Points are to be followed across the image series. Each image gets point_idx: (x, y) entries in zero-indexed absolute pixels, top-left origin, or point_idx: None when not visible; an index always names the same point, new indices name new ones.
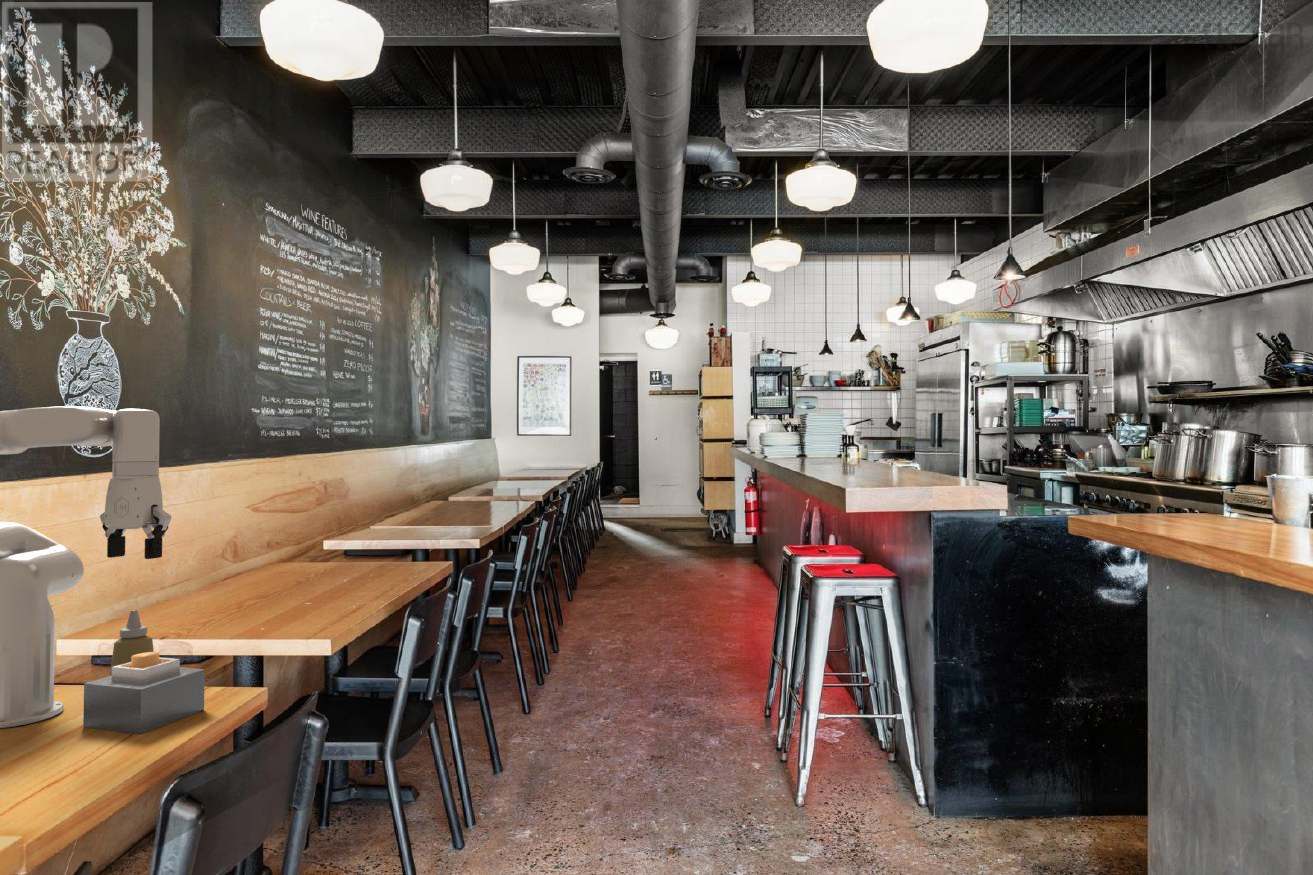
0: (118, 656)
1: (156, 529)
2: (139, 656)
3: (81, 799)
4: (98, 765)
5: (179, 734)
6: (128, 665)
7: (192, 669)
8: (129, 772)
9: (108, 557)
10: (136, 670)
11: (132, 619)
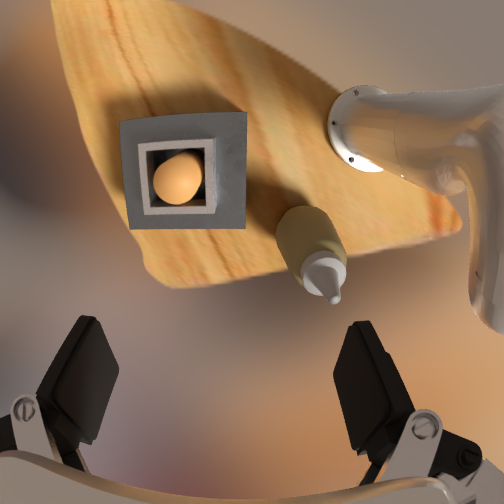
0: (314, 226)
1: (2, 435)
2: (174, 169)
3: (61, 19)
4: (105, 50)
5: (101, 138)
6: (205, 164)
7: (145, 223)
8: (66, 59)
9: (364, 321)
10: (151, 142)
11: (325, 282)
